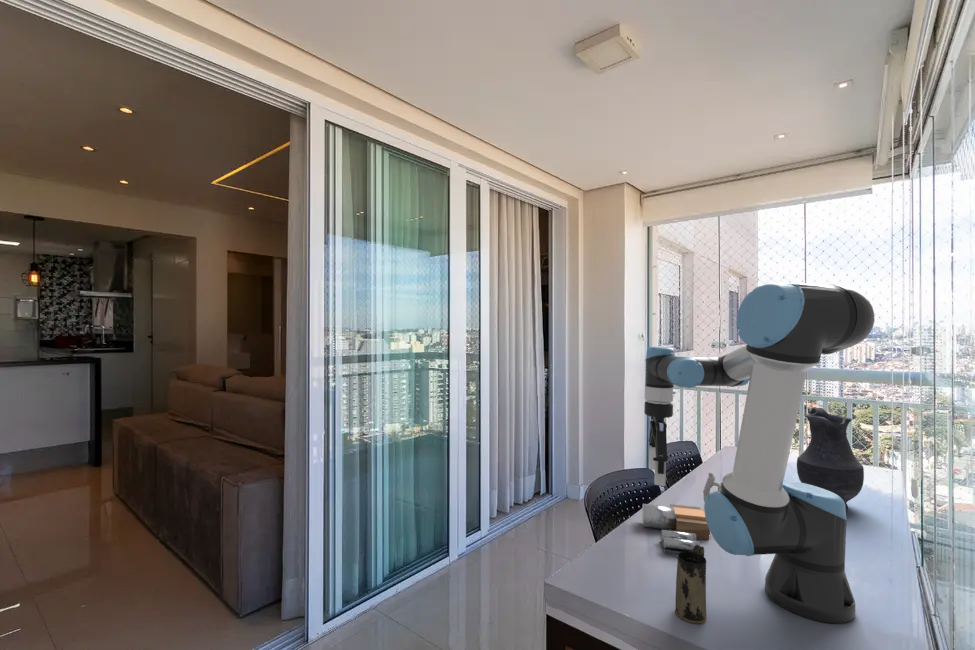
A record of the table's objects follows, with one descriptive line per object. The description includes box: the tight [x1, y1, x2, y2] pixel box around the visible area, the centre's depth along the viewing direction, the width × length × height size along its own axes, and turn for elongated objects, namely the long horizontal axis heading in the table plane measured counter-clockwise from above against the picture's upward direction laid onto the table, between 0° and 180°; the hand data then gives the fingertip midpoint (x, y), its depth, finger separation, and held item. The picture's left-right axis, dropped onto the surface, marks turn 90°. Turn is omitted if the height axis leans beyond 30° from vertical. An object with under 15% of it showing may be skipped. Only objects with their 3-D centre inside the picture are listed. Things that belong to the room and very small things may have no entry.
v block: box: [660, 529, 701, 556], centre depth 115 cm, size 8×7×3 cm
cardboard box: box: [669, 503, 710, 540], centre depth 127 cm, size 12×8×4 cm, turn 166°
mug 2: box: [675, 545, 708, 625], centre depth 89 cm, size 8×6×12 cm
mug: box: [702, 471, 722, 503], centre depth 136 cm, size 8×12×12 cm, turn 36°
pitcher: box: [796, 406, 865, 511], centre depth 149 cm, size 17×21×30 cm
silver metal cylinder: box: [641, 503, 675, 531], centre depth 127 cm, size 8×6×6 cm
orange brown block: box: [673, 507, 711, 536], centre depth 126 cm, size 5×9×5 cm, turn 77°
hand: (656, 476), depth 130 cm, fingers open, 13 cm apart
